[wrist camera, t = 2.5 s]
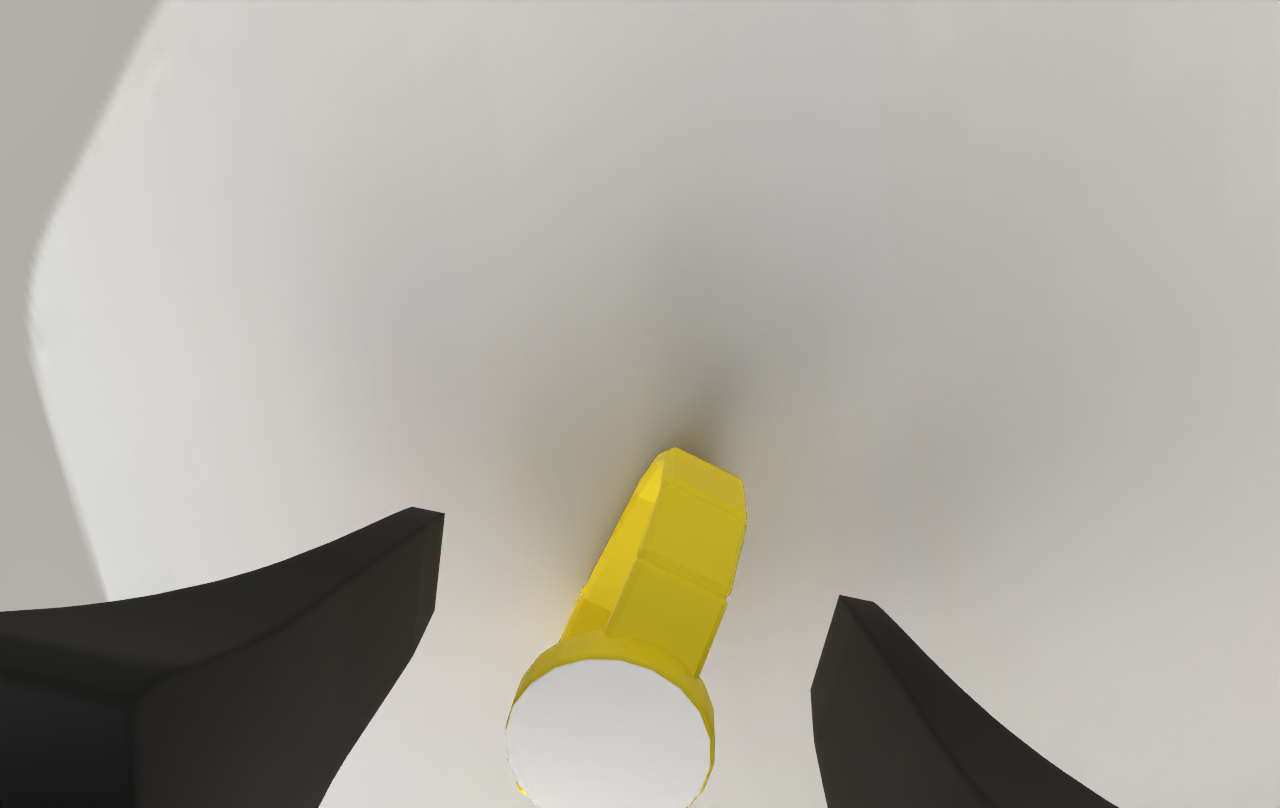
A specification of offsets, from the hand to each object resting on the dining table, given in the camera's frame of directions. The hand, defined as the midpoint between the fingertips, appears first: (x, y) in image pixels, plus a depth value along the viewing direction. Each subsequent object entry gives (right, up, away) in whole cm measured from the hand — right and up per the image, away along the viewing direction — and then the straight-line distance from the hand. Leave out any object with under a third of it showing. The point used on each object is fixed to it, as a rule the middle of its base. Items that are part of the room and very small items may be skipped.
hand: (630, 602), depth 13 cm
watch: (0, +1, +2) cm, 2 cm away
